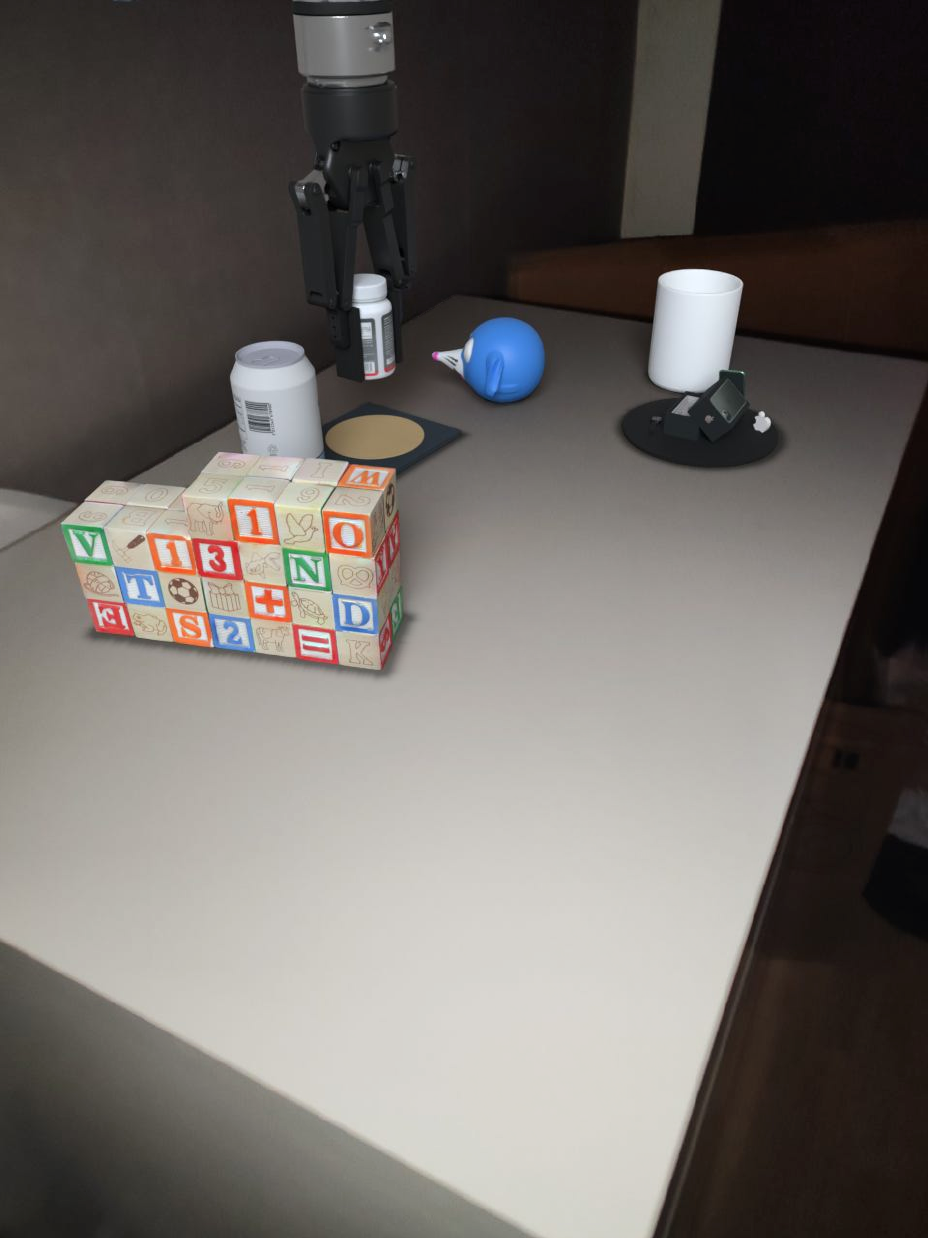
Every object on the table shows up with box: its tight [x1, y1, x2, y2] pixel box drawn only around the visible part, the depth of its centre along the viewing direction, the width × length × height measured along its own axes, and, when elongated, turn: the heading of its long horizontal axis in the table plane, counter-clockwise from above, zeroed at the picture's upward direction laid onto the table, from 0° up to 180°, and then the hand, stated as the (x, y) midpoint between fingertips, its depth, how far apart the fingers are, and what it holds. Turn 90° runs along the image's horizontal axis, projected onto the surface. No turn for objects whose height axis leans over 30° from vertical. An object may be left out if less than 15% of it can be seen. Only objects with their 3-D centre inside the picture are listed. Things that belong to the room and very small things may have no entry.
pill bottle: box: [352, 273, 396, 381], centre depth 82 cm, size 5×5×8 cm
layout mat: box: [321, 401, 462, 476], centre depth 85 cm, size 12×24×1 cm, turn 144°
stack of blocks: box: [60, 451, 404, 671], centre depth 62 cm, size 21×6×12 cm, turn 79°
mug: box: [647, 268, 744, 394], centre depth 99 cm, size 9×12×11 cm
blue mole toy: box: [431, 316, 546, 404], centre depth 95 cm, size 12×12×8 cm
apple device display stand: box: [622, 369, 779, 468], centre depth 89 cm, size 15×15×6 cm
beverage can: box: [229, 340, 325, 460], centre depth 77 cm, size 7×7×12 cm
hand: (370, 368), depth 85 cm, fingers closed on pill bottle, 5 cm apart
